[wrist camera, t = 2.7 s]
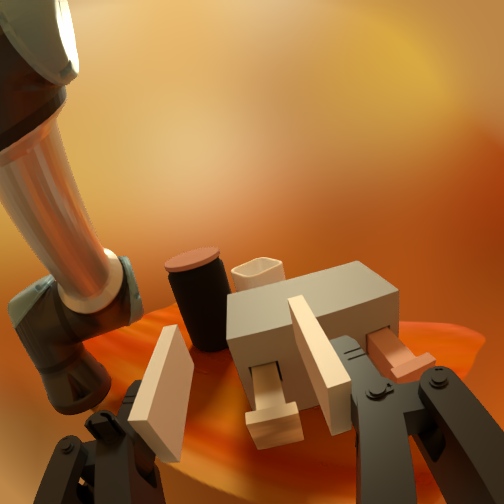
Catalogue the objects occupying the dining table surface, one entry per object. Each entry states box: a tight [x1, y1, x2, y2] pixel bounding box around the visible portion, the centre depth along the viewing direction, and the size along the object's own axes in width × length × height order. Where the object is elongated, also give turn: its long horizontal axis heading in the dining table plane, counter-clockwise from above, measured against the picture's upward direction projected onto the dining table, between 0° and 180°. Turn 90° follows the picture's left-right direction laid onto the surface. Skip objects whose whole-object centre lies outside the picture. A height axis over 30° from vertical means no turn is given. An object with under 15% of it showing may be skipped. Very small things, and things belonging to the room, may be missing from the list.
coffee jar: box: [164, 247, 232, 352], centre depth 53 cm, size 11×11×18 cm
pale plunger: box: [245, 361, 304, 450], centre depth 27 cm, size 5×12×5 cm, turn 4°
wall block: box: [226, 261, 399, 411], centre depth 36 cm, size 20×12×14 cm, turn 94°
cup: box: [231, 257, 286, 292], centre depth 48 cm, size 7×7×15 cm
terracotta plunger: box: [366, 326, 436, 384], centre depth 27 cm, size 5×12×5 cm, turn 4°
